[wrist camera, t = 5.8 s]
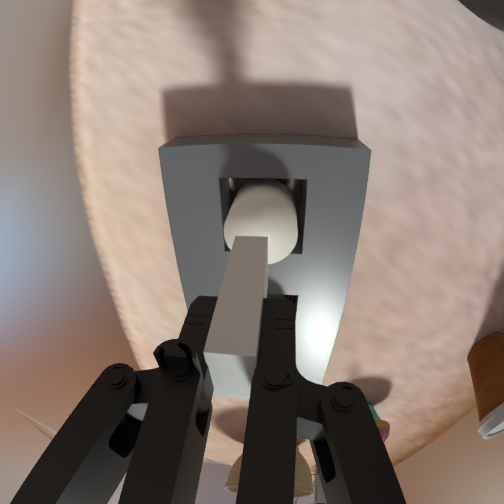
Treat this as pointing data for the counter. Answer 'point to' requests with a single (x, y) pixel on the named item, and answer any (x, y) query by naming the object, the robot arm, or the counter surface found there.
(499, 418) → the disposable coffee cup
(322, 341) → the button panel
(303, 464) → the planter bowl
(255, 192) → the white rounded piece
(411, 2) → the counter surface
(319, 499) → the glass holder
